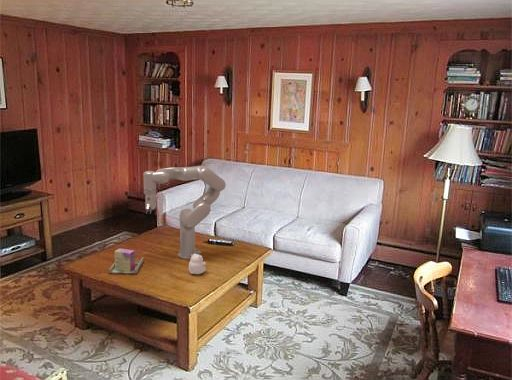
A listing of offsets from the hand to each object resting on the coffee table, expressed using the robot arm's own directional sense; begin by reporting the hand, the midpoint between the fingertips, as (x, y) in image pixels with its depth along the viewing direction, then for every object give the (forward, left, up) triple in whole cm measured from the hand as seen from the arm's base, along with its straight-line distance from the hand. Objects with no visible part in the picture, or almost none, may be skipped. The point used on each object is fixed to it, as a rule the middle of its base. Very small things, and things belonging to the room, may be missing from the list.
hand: (150, 217), depth 270 cm
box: (+12, +19, -27) cm, 35 cm away
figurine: (-31, +20, -28) cm, 47 cm away
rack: (+12, +14, -28) cm, 34 cm away
